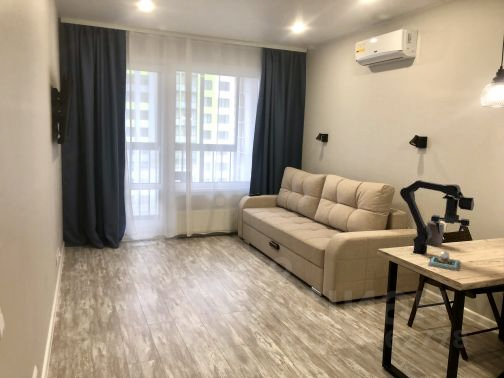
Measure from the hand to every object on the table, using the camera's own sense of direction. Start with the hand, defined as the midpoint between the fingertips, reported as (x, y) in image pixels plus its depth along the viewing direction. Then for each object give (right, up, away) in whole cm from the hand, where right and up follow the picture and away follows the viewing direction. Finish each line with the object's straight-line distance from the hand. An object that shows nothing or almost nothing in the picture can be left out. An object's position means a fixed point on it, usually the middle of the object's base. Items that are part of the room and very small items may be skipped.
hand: (448, 235), depth 224 cm
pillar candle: (+5, -9, +31) cm, 32 cm away
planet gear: (-7, -14, -9) cm, 18 cm away
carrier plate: (-6, -14, -7) cm, 17 cm away
